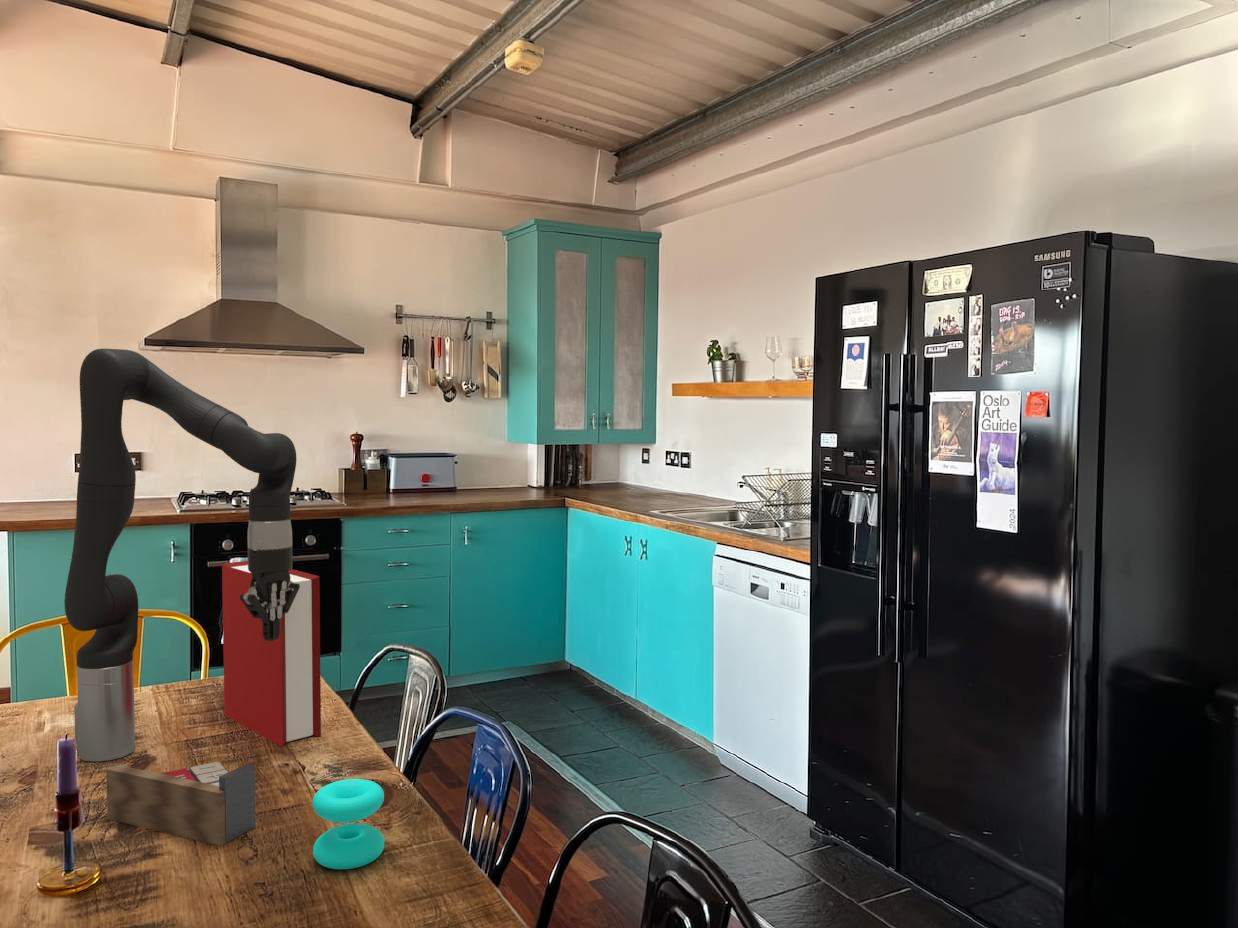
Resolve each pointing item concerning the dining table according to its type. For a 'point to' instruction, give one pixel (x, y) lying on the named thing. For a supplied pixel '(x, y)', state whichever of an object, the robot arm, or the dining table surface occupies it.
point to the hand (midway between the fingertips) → (271, 639)
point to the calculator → (201, 773)
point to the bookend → (239, 800)
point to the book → (272, 661)
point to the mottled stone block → (166, 804)
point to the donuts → (349, 840)
